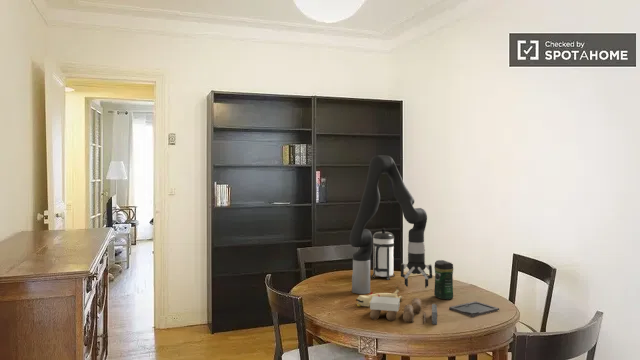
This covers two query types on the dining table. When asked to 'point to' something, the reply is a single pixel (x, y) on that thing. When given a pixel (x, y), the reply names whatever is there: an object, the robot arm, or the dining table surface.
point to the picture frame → (473, 308)
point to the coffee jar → (443, 279)
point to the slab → (385, 303)
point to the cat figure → (366, 300)
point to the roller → (416, 305)
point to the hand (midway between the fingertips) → (416, 286)
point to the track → (391, 315)
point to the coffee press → (383, 254)
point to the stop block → (434, 313)
